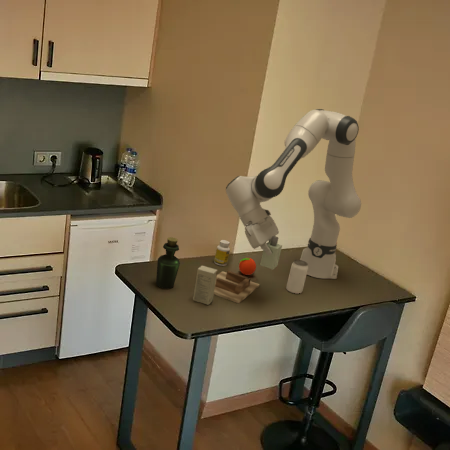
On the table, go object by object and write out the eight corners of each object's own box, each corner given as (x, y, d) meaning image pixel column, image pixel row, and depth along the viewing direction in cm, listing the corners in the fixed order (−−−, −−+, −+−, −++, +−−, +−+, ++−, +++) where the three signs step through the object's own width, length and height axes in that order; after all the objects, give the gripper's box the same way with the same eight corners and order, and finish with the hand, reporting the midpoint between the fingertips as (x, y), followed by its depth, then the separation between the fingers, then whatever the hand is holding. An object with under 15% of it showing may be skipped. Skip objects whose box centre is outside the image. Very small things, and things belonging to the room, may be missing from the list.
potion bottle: (178, 290, 220) (186, 244, 215) (156, 289, 217) (164, 243, 212) (172, 280, 227) (180, 235, 222) (151, 279, 224) (158, 234, 219)
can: (292, 285, 244) (299, 258, 241) (305, 292, 240) (312, 264, 237) (282, 288, 240) (289, 260, 236) (295, 295, 236) (302, 267, 232)
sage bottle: (264, 261, 224) (271, 233, 221) (277, 265, 223) (283, 237, 219) (260, 265, 220) (266, 236, 217) (272, 269, 218) (279, 241, 215)
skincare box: (212, 301, 217) (218, 269, 213) (208, 305, 213) (214, 273, 209) (196, 295, 219) (202, 264, 215) (191, 299, 215) (197, 268, 211)
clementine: (239, 278, 242) (243, 261, 239) (232, 270, 247) (235, 254, 245) (257, 277, 245) (260, 261, 243) (249, 270, 251) (252, 254, 249)
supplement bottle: (225, 267, 249) (229, 245, 246) (212, 264, 250) (217, 242, 247) (227, 262, 254) (232, 241, 251) (215, 259, 255) (219, 238, 252)
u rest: (222, 273, 243) (224, 264, 241) (258, 286, 237) (261, 277, 236) (199, 288, 225) (201, 279, 224) (238, 303, 219) (241, 293, 218)
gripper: (250, 220, 209) (270, 255, 209) (270, 209, 227) (289, 241, 227) (236, 229, 212) (256, 263, 212) (257, 217, 230) (275, 249, 230)
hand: (273, 252), depth 219 cm, fingers closed on sage bottle, 5 cm apart
